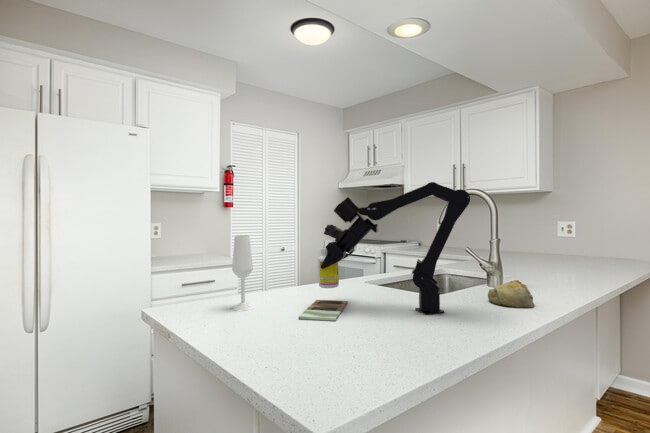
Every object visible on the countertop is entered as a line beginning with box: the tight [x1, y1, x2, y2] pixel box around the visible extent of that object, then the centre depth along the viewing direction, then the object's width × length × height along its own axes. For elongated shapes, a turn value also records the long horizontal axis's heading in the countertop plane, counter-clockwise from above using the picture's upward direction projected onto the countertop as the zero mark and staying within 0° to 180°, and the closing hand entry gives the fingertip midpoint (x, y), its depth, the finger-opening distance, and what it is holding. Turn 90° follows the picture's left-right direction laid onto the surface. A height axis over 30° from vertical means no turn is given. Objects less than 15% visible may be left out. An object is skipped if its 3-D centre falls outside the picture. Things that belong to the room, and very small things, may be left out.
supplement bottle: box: [317, 247, 340, 289], centre depth 123 cm, size 7×7×13 cm
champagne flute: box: [231, 234, 254, 312], centre depth 122 cm, size 7×7×24 cm
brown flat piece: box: [298, 299, 349, 322], centre depth 117 cm, size 22×11×1 cm, turn 167°
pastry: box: [487, 279, 535, 309], centre depth 123 cm, size 14×12×8 cm
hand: (324, 266), depth 123 cm, fingers closed on supplement bottle, 7 cm apart
